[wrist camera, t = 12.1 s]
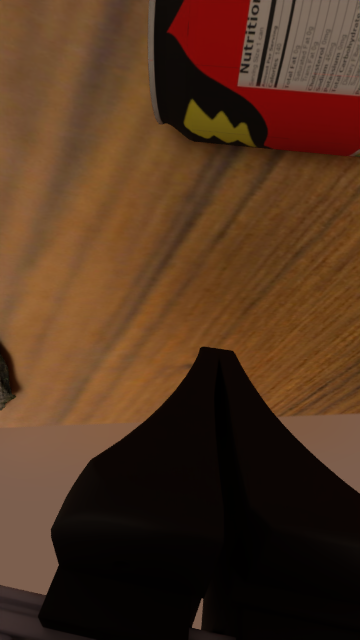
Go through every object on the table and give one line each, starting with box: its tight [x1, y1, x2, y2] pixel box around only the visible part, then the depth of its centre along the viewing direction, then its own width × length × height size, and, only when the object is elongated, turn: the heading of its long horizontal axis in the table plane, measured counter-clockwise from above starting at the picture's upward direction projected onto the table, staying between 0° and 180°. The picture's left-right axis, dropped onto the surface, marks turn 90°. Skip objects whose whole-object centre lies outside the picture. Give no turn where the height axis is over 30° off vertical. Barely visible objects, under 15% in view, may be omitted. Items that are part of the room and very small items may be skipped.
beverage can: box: [148, 0, 360, 157], centre depth 12 cm, size 6×6×12 cm
